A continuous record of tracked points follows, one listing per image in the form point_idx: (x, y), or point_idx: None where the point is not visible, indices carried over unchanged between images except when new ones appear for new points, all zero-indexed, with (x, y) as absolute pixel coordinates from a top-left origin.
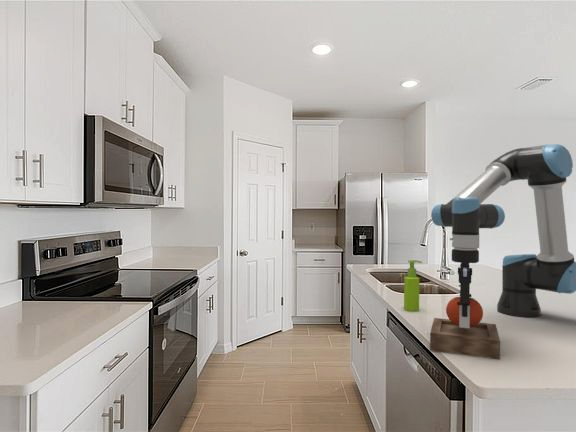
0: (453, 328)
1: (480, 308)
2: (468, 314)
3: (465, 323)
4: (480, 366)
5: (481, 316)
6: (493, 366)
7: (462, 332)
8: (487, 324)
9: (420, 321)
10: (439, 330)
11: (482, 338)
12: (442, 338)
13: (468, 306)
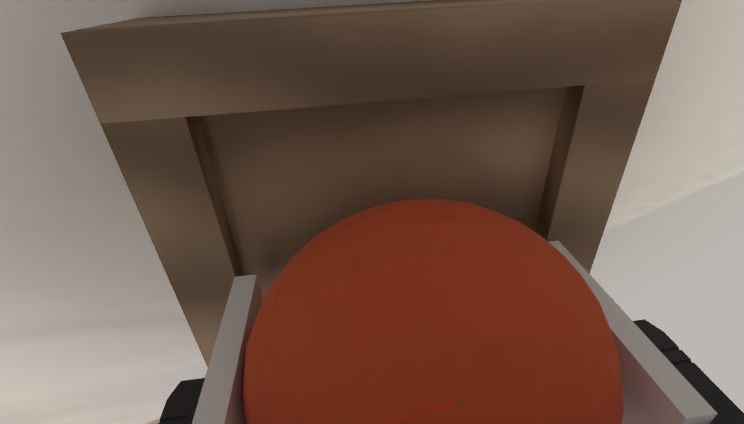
0: None
1: (539, 292)
2: (630, 331)
3: None
4: (702, 99)
5: (501, 219)
6: (703, 33)
7: None
8: (143, 114)
9: (70, 412)
10: None
11: (625, 133)
12: None
13: (703, 411)
